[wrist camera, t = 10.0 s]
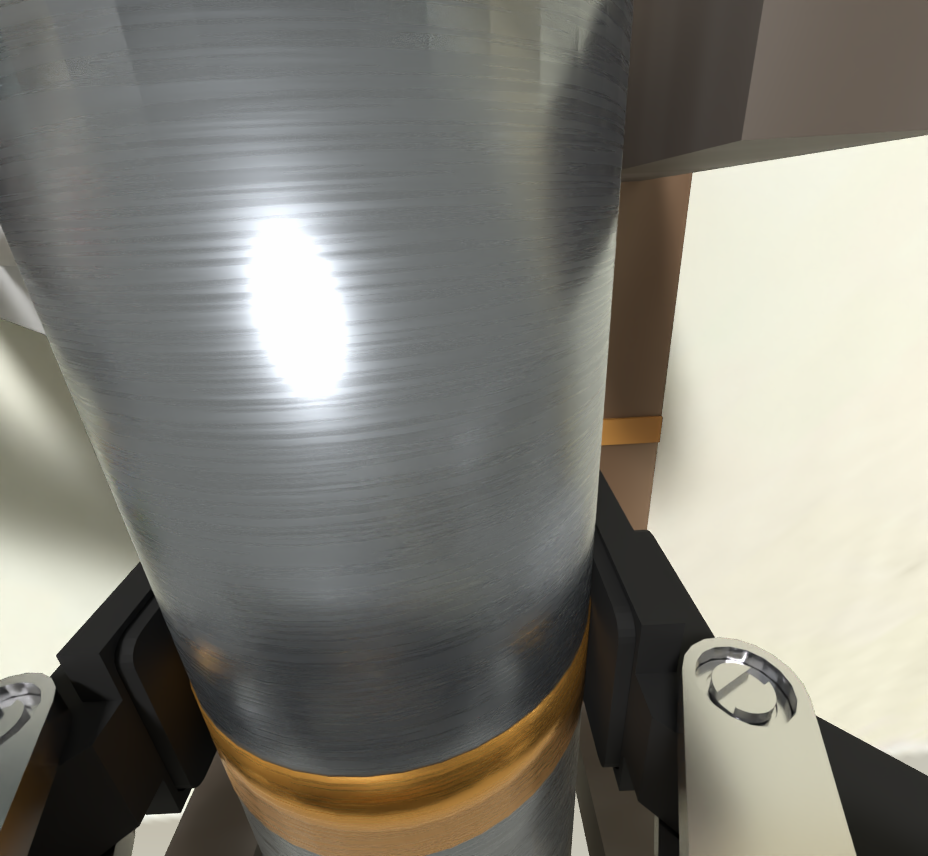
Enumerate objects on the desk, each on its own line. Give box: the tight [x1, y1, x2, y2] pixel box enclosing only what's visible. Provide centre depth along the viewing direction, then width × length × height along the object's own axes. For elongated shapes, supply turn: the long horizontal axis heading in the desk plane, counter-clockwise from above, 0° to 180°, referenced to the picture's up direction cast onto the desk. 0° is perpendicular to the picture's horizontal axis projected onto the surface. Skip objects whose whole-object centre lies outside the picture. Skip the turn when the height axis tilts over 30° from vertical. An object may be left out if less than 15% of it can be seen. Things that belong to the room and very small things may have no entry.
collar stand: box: [165, 0, 928, 856], centre depth 11 cm, size 14×22×10 cm, turn 3°
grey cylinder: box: [0, 0, 634, 856], centre depth 8 cm, size 6×20×6 cm, turn 3°
